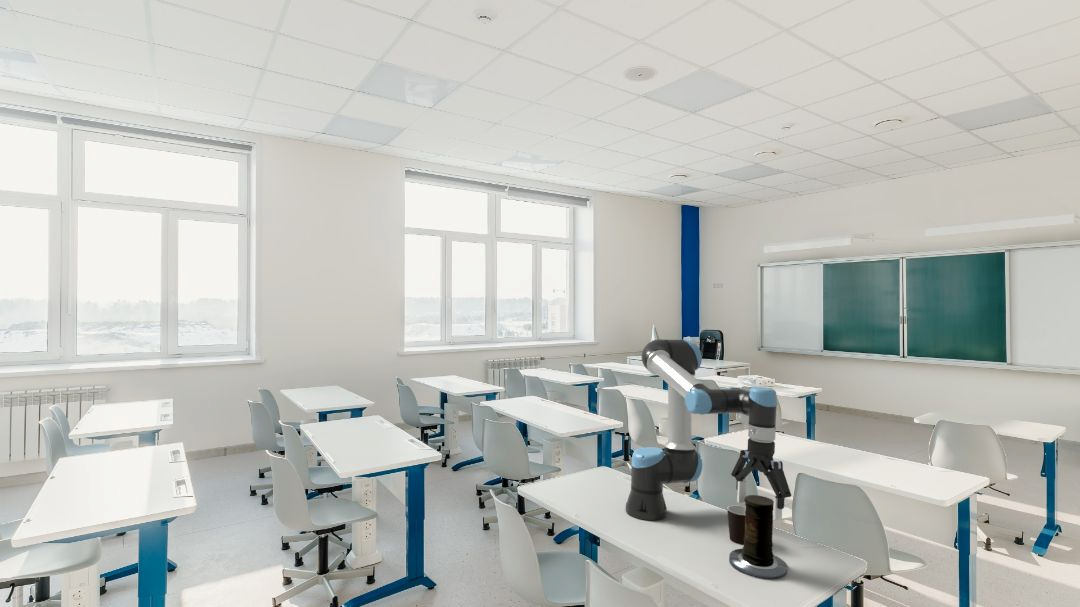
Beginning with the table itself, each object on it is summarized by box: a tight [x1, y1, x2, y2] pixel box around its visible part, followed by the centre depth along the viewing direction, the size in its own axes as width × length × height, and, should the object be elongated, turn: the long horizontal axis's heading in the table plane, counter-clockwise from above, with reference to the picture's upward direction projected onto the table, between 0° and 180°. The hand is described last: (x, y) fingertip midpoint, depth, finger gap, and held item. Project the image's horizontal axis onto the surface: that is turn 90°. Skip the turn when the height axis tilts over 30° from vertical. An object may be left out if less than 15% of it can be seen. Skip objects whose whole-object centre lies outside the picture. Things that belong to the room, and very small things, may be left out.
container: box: [741, 494, 775, 567], centre depth 157 cm, size 9×9×18 cm
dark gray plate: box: [728, 548, 788, 580], centre depth 156 cm, size 16×16×2 cm
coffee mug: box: [726, 504, 746, 546], centre depth 174 cm, size 12×9×10 cm
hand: (758, 510), depth 157 cm, fingers open, 13 cm apart
